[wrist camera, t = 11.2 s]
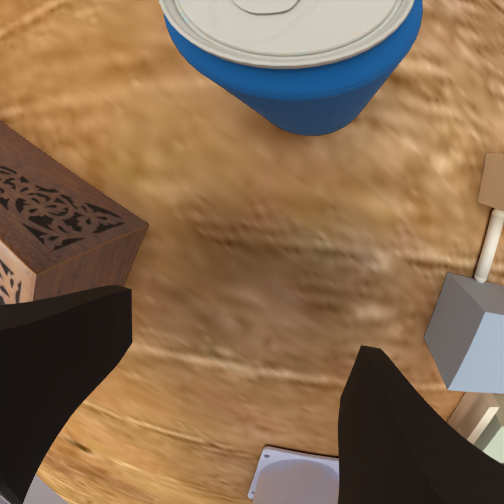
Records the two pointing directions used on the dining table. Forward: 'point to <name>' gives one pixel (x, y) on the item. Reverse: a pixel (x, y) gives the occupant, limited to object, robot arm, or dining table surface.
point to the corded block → (474, 307)
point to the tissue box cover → (57, 228)
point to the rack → (473, 414)
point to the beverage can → (296, 53)
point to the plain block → (494, 433)
